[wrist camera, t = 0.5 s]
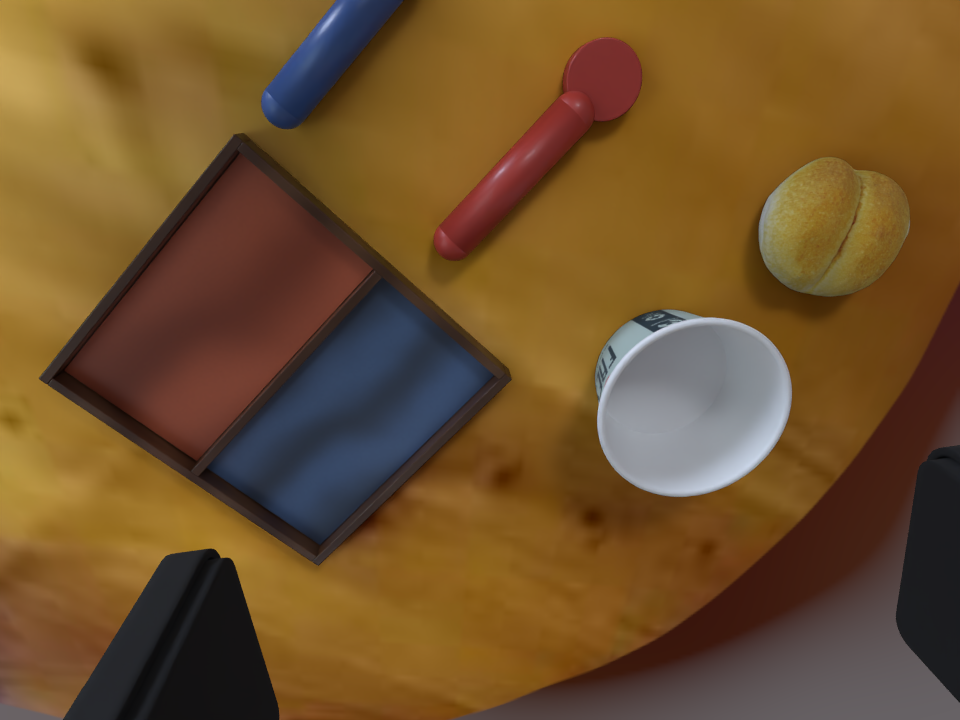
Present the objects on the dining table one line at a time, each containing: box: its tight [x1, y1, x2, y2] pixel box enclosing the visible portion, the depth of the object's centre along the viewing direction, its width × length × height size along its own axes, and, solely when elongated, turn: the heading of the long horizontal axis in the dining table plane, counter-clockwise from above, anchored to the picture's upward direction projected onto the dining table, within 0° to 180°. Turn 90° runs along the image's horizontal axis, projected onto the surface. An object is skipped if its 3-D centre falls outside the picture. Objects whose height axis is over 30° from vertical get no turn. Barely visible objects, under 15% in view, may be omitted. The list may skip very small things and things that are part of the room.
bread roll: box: [759, 157, 910, 296], centre depth 40 cm, size 8×9×4 cm
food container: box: [595, 310, 792, 497], centre depth 41 cm, size 12×12×7 cm
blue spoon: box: [261, 0, 404, 129], centre depth 34 cm, size 16×4×2 cm, turn 136°
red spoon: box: [434, 37, 642, 261], centre depth 37 cm, size 16×4×2 cm, turn 136°
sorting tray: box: [39, 133, 511, 566], centre depth 41 cm, size 22×20×2 cm
